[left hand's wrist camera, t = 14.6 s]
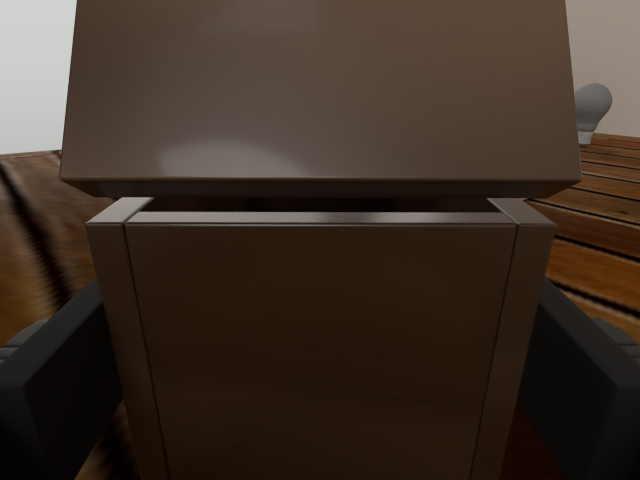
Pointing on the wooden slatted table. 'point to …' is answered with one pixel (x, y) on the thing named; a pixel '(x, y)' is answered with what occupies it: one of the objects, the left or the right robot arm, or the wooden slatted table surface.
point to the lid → (321, 99)
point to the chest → (320, 333)
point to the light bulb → (590, 109)
